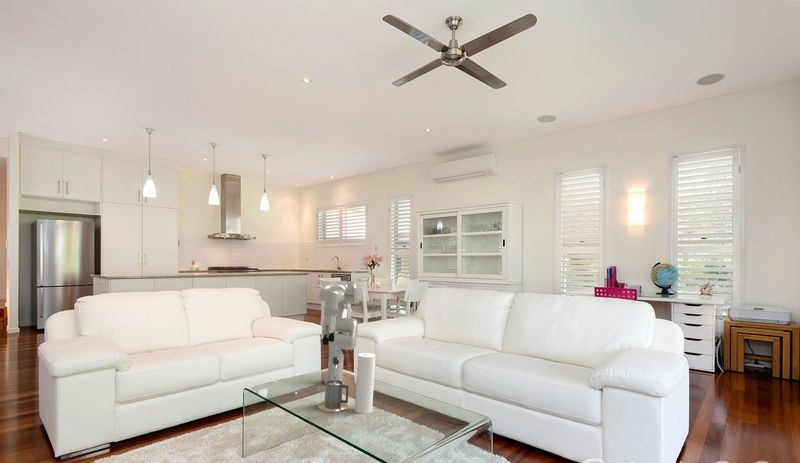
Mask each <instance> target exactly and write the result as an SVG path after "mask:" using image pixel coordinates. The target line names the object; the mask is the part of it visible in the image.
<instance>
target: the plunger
mask: <svg viewBox="0 0 800 463" xmlns="http://www.w3.org/2000/svg"><path fill="white" fill-rule="evenodd" d="M333 364H335V369H334V382H329V383H328V384H330V385H339V384H340V383H339V382H335V381H336V367H337V364H339V357H333Z"/></svg>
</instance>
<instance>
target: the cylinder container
mask: <svg viewBox="0 0 800 463" xmlns="http://www.w3.org/2000/svg"><path fill="white" fill-rule="evenodd" d="M376 356H377V355H376V354H375V353H371V352H361V353H358V354H357V367H356V368H357V369H356V383H355V384H356V385H355V397H354V398H355V399H354V412H355V413H357V414H363V415H364V414H370V413H372V412H373V400H374V389H375V388H374V387H375V384H374V383H375V373H376V372H375V371H376V370H375V369H376Z"/></svg>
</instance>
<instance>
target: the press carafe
mask: <svg viewBox="0 0 800 463" xmlns="http://www.w3.org/2000/svg"><path fill="white" fill-rule="evenodd" d="M329 382H334V380H329V381H327V382H326V384H325V389H324V390H325V391H324V401H321V402H319V403H318V404H317V409H318V410H320V411H322V412H325V413H341V412H343V411H346V410H347V409H348V402H349V389H350V385H348V384H347V385H346V384H344V385H343V382H342V381H339V380H336V381H335V382H339V383H340V384H339V385H330V384H328V383H329ZM343 388H344V389H345V399H343V390H344V389H343Z"/></svg>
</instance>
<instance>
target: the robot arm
mask: <svg viewBox="0 0 800 463" xmlns="http://www.w3.org/2000/svg"><path fill="white" fill-rule="evenodd" d="M318 297H319V300H320V301H321V302H324V307H323V308H324V309H323V322H322V328H321V332H322V335H323V336H322V345H323V346H328V362H327V363H328V365H327V377H326V378H327V379H325V380H324V385H326V382H327V381H329V380H334V369H335V364H333V357H339V364H337V367H336V380H339V381H342V380H343V378H344V377H343V375H344V374H343V373H344V363H345V362H344V361H345V355H344V352H343V351H342V350H351V351H352V350H354V349H355V348H356V345H357V337H358V329H359V324H358V320H357V318H354V317H353V318H352V317H348V315H349V310H348V308H347V307H346V305H345V304H351V305H352V304H353V305H355V304H357V303H358V302H359V299H360V294H359V288H358V284H357V282H356V281H349V280H339V281H337V282H336V283H335V284H330V285H324V286H323V287H322V288H321V289H320V290H319V293H318ZM344 382H345V381H344ZM344 382H343V384H344V385H345V383H344Z"/></svg>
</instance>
